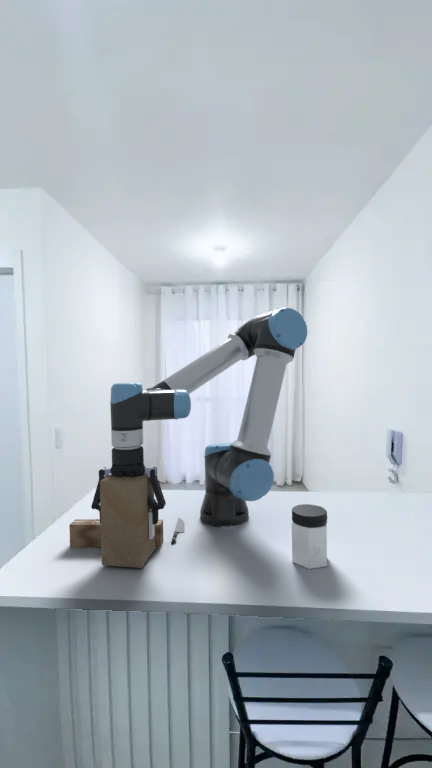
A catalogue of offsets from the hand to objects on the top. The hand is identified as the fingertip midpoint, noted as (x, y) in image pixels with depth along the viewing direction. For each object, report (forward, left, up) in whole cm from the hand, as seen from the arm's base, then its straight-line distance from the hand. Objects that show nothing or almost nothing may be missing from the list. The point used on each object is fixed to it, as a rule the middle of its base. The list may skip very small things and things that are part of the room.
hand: (129, 536), depth 88 cm
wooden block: (0, 0, -5) cm, 5 cm away
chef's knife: (-10, -17, -6) cm, 21 cm away
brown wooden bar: (+5, -7, -5) cm, 11 cm away
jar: (-44, 0, -6) cm, 44 cm away
